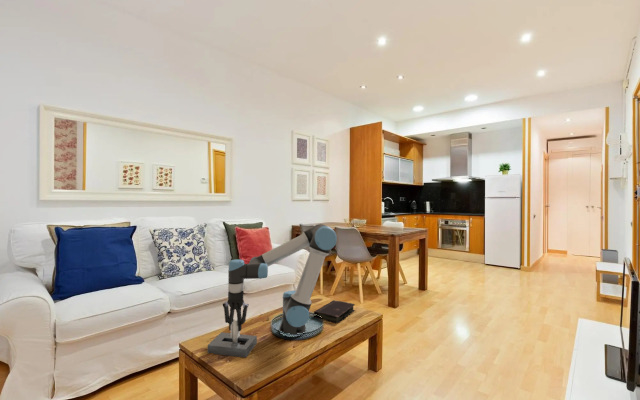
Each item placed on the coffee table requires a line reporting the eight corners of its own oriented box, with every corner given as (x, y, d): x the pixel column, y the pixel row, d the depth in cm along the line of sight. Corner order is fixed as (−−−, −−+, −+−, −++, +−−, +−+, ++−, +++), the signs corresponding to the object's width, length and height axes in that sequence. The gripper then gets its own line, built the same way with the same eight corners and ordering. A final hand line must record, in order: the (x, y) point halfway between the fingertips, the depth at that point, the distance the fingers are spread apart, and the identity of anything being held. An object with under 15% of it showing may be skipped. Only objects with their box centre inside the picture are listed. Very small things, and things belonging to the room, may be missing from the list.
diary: (313, 318, 196) (313, 310, 196) (332, 306, 218) (332, 299, 217) (338, 324, 186) (338, 316, 186) (356, 311, 208) (356, 304, 208)
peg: (241, 345, 157) (241, 318, 157) (237, 350, 153) (237, 322, 152) (232, 344, 158) (233, 317, 157) (228, 349, 153) (229, 321, 153)
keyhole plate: (256, 343, 161) (256, 335, 161) (246, 357, 147) (246, 349, 147) (221, 339, 164) (221, 332, 164) (207, 353, 150) (207, 345, 150)
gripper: (253, 289, 157) (252, 334, 157) (225, 287, 159) (224, 331, 160) (247, 294, 149) (246, 341, 150) (218, 291, 152) (217, 338, 152)
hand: (235, 336), depth 155 cm, fingers closed on peg, 2 cm apart
